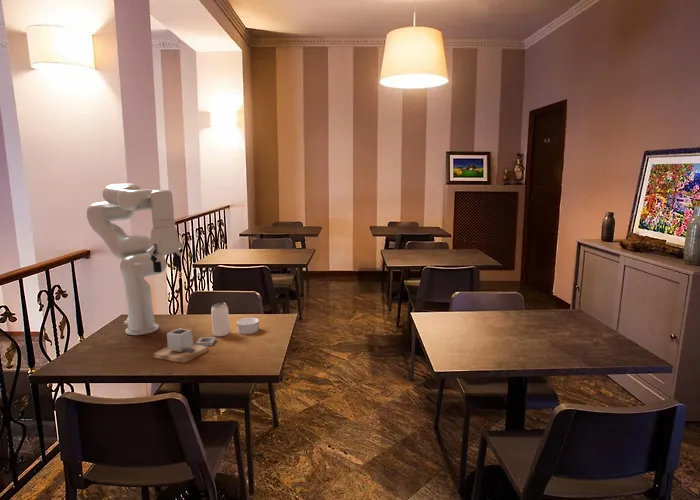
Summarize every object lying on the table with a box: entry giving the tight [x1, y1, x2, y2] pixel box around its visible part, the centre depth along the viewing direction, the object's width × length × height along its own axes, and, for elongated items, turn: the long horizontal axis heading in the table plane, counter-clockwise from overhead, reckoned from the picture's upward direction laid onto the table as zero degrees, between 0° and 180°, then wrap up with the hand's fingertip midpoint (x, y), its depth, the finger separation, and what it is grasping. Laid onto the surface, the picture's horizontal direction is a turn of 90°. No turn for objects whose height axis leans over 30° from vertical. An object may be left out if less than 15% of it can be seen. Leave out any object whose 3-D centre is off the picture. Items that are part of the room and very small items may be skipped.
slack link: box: [195, 336, 217, 347], centre depth 180 cm, size 6×6×1 cm
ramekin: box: [236, 317, 260, 335], centre depth 192 cm, size 9×9×4 cm
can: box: [210, 302, 231, 338], centre depth 189 cm, size 6×6×12 cm
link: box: [166, 327, 194, 352], centre depth 169 cm, size 6×6×6 cm
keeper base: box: [152, 330, 209, 364], centre depth 169 cm, size 14×12×8 cm
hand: (167, 269), depth 178 cm, fingers open, 9 cm apart
